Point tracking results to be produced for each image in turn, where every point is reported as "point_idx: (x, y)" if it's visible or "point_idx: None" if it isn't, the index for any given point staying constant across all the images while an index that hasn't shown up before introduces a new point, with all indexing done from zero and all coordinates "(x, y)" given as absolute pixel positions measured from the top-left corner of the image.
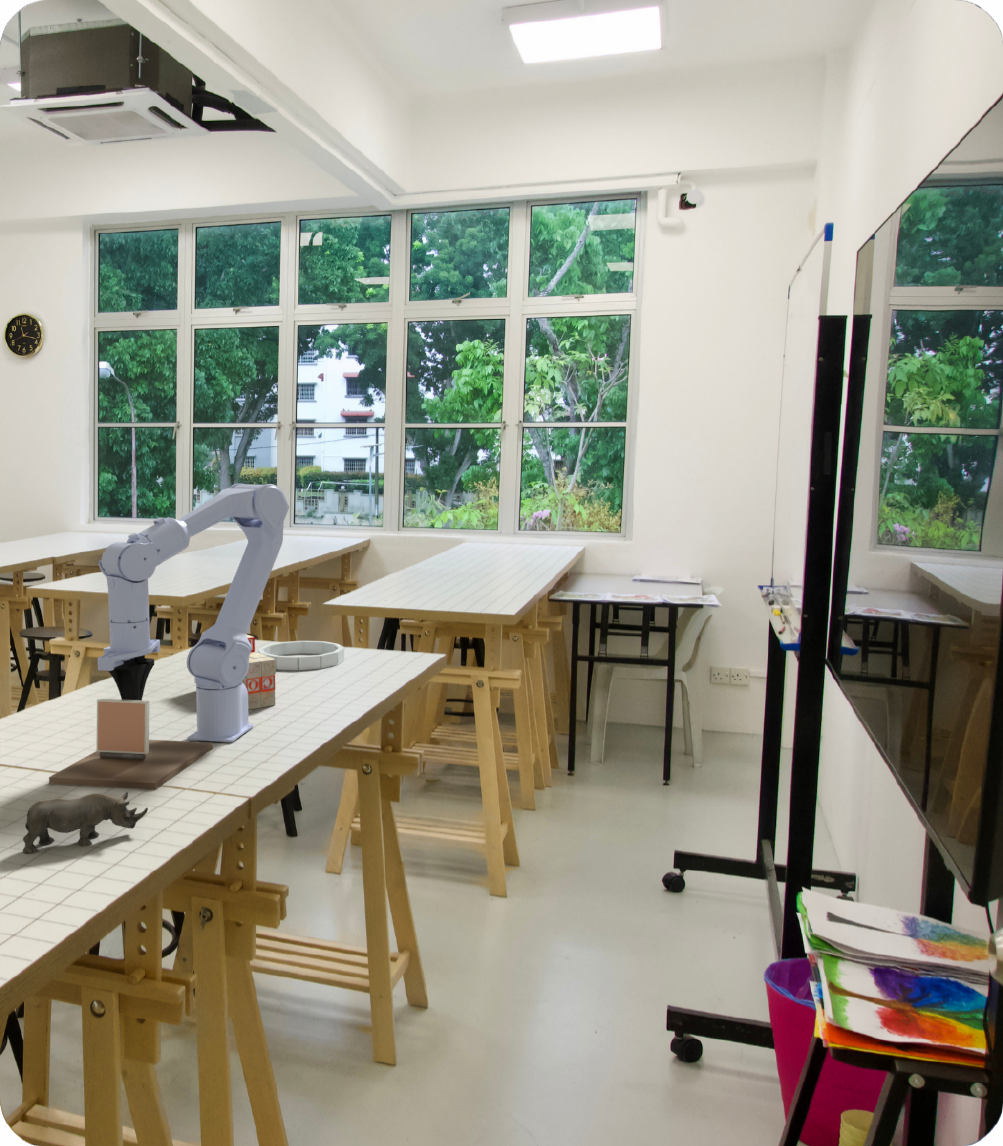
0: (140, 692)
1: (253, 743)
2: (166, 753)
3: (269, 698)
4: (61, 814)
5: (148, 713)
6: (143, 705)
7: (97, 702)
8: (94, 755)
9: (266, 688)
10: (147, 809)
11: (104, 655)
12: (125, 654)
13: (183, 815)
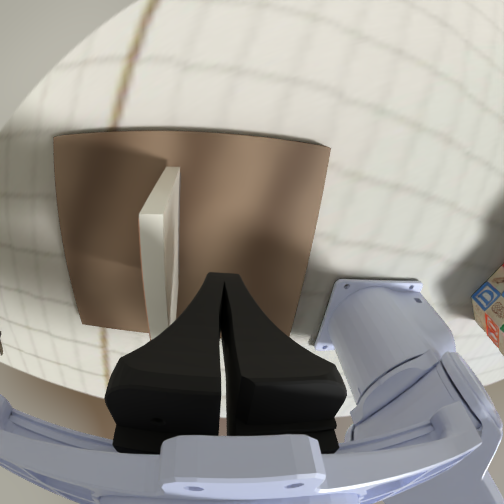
0: (223, 351)
1: None
2: None
3: (480, 323)
4: None
5: None
6: None
7: (141, 211)
8: (190, 146)
9: (489, 330)
10: (1, 354)
11: (6, 456)
12: (80, 502)
13: (47, 359)
